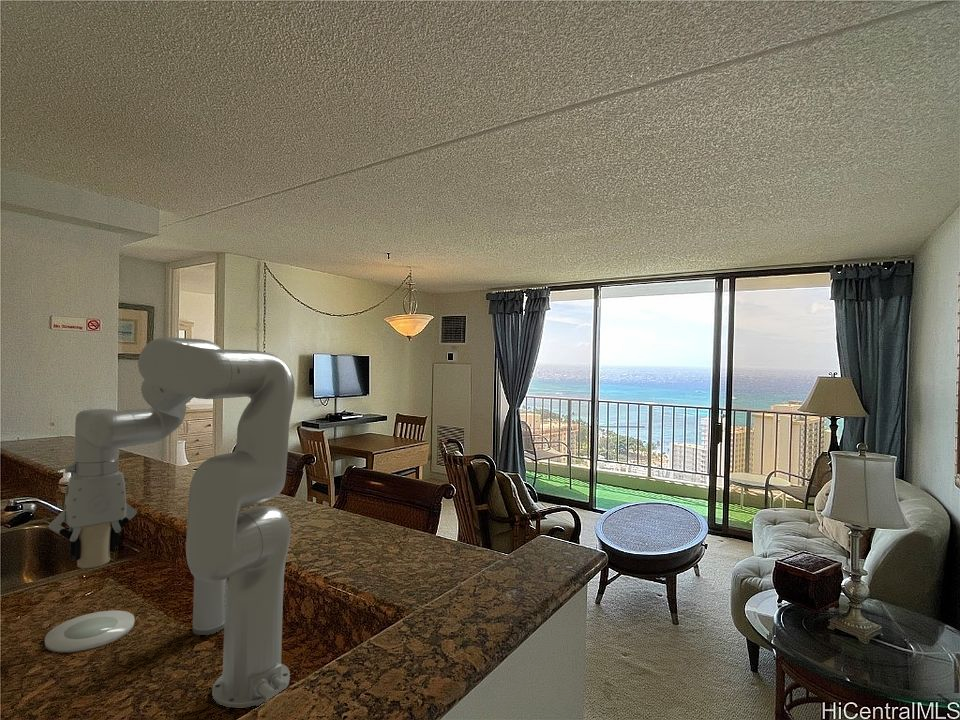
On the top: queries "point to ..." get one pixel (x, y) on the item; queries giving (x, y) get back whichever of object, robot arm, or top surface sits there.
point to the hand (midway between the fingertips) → (94, 553)
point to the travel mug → (208, 607)
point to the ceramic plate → (89, 631)
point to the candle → (94, 545)
